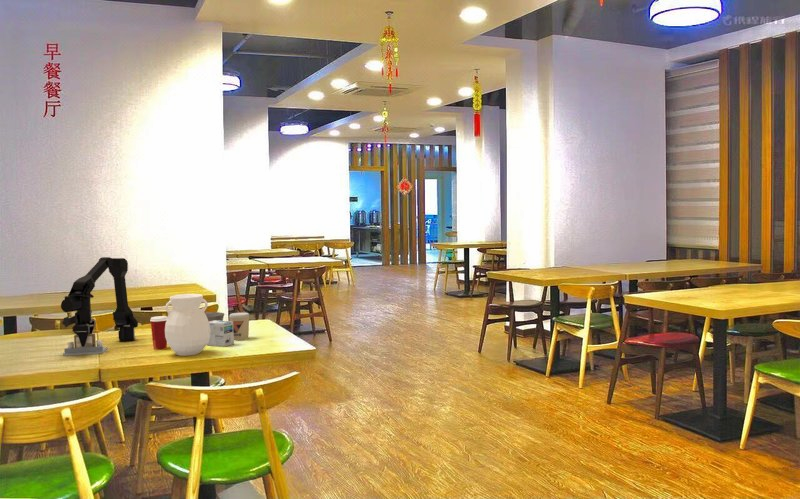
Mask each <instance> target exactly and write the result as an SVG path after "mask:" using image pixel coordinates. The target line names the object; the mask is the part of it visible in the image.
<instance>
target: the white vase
mask: <svg viewBox="0 0 800 499" xmlns="http://www.w3.org/2000/svg"><path fill="white" fill-rule="evenodd" d="M202 303H204V306H203V307H202V308H200V306H201V304H202ZM169 305H171V306H172V309H169ZM208 305H209V304H208V302H207V300H206V299H205V298H204V295H203V294H199V293H182V294H181V293H179V294H174V295H170V297H169V301H168V302H166V304H165V311H166V312H167V321H166V324H165V338H166V341H167V346H169V347H170V349H171V350H172V351H173V352H174V353H175V355H177V356H182V357H185V356H186V357H187V356H195V355H199V354H200V353H201V352H202V351H203V350H204V349H205V348H206V346H208V345H207V344H208V342H209V339H210V331H211V330H210V324H209V321H208V319H207V316H206V314H205V313H204V312H206V310H207V309H208Z"/></svg>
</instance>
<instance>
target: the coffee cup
mask: <svg viewBox="0 0 800 499" xmlns="http://www.w3.org/2000/svg"><path fill="white" fill-rule="evenodd" d="M228 318H229V321H233V333H234V341H246V340H248V339H249V334H250V333H249V330H250V328H249V327H250V326H249V325H250V314H249V313H248V312H234V313H233V312H232V313H230V314H229V316H228ZM245 339H246V340H245Z"/></svg>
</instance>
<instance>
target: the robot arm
mask: <svg viewBox="0 0 800 499" xmlns="http://www.w3.org/2000/svg"><path fill="white" fill-rule="evenodd" d="M107 269H108V272H109V274H110V275H111V276H112V278H113V284H114V285H113V286H114V294H115V301H116V302H115V304H116V308H115V310H114V311H113V312H112V316H113V318H112V320H113V322H114V324H115V328H116V329H119V330H118V334H117V335H118V340H119V342H133V341H135V340H136V334H135V331H136V330H135V329H136V328H138V326H139V325H138V324H139V322H138V320H137V319H136V318H135V317H134V313H133V310H132V309H131V307H130V306H129V302H128V300H129V299H128V291H127V285H126V284H127V283H126V274H127V273H128V270H129V263H128V260H127V259H126V258H124V257H120V258H119V257H118V258H117V257H110V256H107V257H105V256H103V257H100V258H99V259H98V261H97V262H96V264H95V265H93V267H92V268H90V270H89V271H88V272H87V273H86V274H85V275H83V276H81V277H79V278H77V279H76V280H74V281H73V283H72V286H71V289H70V291H69V292H68V295H65V296H64V299H63V300H62V301H61V304H60V309H61V310H62V312H64V313H71V312H75V313H74V315H73V316H70V317H69V316H65V317H63V320H61V321H62V325H63V326H64V328H67V327H69V326H71V325H73V326H71V327H72V330H71V331H72V332H73V334H74V335H78V337H79V340H80V343H81V346H82V347H84V346H85V344H86V341H87V338H88V335H89V334H93V332H94V331H95V327H96V322H97V321H96V320H95V318H92V313H93V311H92V305H91V299H93V298H94V295H93V294H92V292H93V291H94V289H95V286H96V282H97V281H98V280H99V278H101V276H102V275H103V274H104V273H105V272H106V271H107Z"/></svg>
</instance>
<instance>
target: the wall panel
mask: <svg viewBox="0 0 800 499" xmlns="http://www.w3.org/2000/svg"><path fill="white" fill-rule="evenodd" d="M95 341H96V347H82V348H75V347H74V341H68V342H67V348H64V350H63V351H64V352H63V353H62V356H63V357H65V356H66V357H69V356H81V355H83V356H84V355H98V354H99V355H100V354H104V353H105V352H106V351H107V349H108V346H103V345H104V344H103V340H102V339H98V340H95Z"/></svg>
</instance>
